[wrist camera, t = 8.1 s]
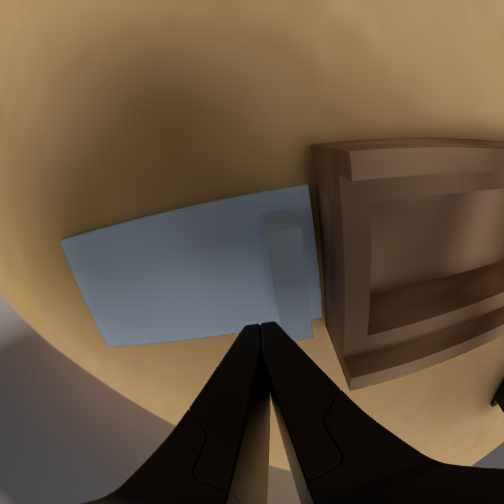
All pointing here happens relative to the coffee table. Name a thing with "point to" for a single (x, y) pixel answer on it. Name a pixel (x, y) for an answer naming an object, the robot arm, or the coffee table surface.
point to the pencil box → (410, 251)
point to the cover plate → (202, 270)
